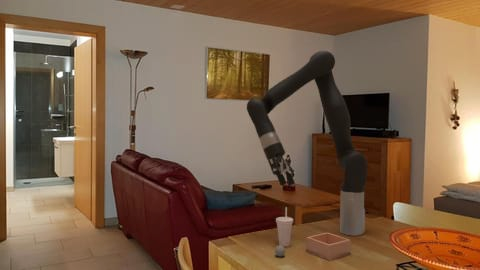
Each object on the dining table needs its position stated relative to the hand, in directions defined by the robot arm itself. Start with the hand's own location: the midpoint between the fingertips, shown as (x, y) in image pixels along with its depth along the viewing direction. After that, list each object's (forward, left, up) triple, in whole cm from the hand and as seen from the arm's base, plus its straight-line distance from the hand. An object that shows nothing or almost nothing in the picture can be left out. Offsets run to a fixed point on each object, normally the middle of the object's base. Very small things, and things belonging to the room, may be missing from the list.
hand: (288, 184), depth 149 cm
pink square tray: (-4, +17, -22) cm, 28 cm away
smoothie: (+3, +2, -22) cm, 22 cm away
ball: (+12, +10, -22) cm, 27 cm away
